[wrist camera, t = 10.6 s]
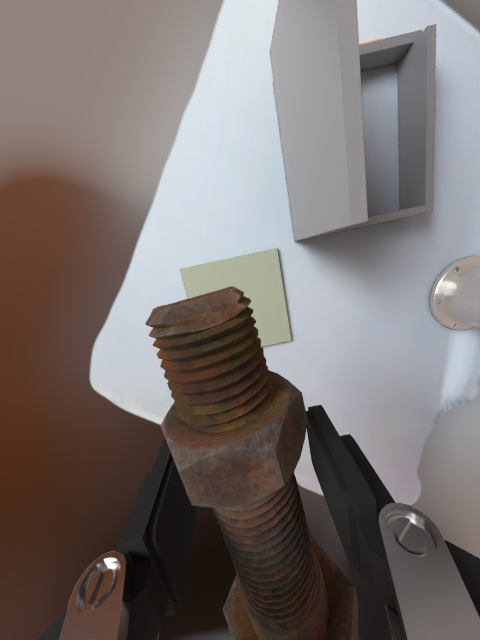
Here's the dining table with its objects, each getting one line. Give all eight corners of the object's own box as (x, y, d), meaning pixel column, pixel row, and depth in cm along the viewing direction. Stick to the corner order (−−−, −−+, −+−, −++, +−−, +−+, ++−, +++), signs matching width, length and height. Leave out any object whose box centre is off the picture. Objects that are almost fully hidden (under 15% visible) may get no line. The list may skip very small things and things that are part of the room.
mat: (276, 248, 37) (277, 248, 36) (290, 339, 41) (291, 340, 41) (180, 268, 37) (179, 269, 37) (204, 356, 42) (203, 358, 41)
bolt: (225, 282, 11) (291, 524, 14) (106, 317, 8) (218, 595, 12) (331, 265, 5) (394, 652, 9) (97, 344, 3) (300, 822, 7)
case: (404, 45, 30) (741, -374, 10) (406, 217, 36) (625, 165, 16) (263, 79, 31) (318, -256, 11) (286, 242, 37) (351, 224, 16)
